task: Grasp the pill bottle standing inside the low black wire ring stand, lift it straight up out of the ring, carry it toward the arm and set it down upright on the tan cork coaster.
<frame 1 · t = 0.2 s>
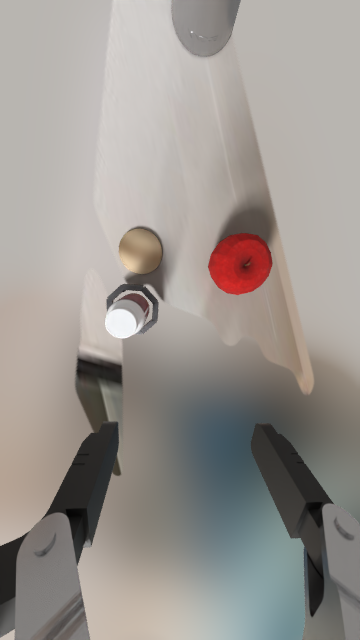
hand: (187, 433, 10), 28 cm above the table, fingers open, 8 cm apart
pill bottle: (135, 307, 36), on the table
apple: (225, 266, 35), on the table
cork coaster: (141, 252, 33), on the table
ring stand: (134, 307, 36), on the table
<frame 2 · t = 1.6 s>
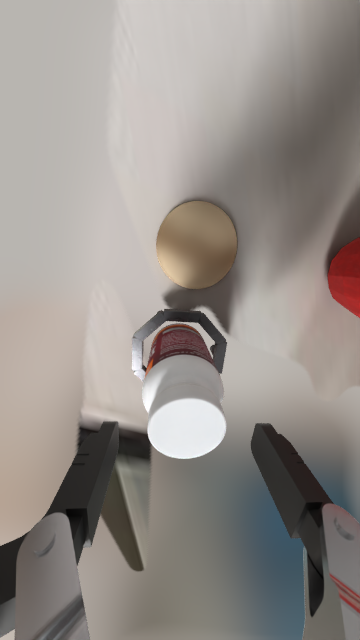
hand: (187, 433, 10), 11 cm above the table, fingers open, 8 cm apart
pill bottle: (178, 345, 21), on the table
apple: (344, 272, 19), on the table
cork coaster: (196, 248, 17), on the table
ring stand: (178, 346, 20), on the table
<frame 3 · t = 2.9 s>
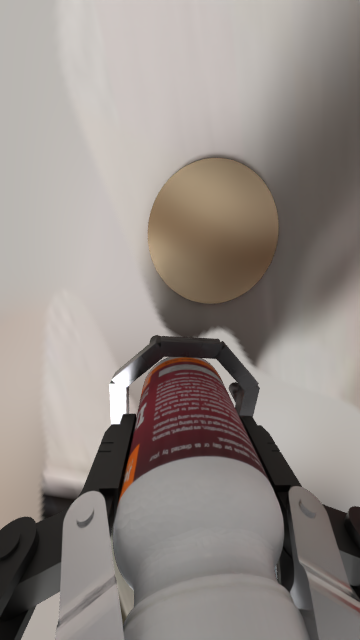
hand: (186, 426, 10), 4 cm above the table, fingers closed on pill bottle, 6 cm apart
pill bottle: (182, 384, 14), on the table, touching gripper
cork coaster: (211, 240, 11), on the table
ring stand: (182, 386, 14), on the table
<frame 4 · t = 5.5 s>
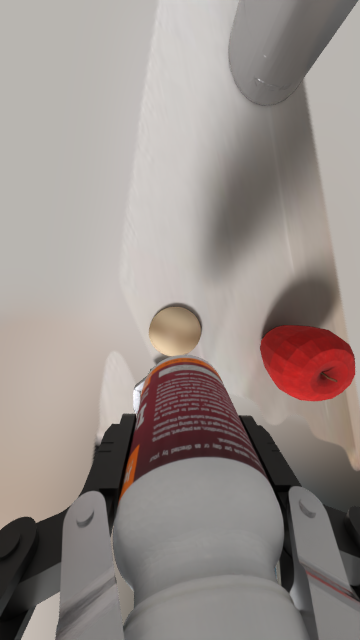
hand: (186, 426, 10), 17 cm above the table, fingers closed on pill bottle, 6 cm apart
pill bottle: (182, 384, 14), point 13 cm above the table, touching gripper
apple: (275, 342, 29), on the table
cork coaster: (175, 331, 27), on the table
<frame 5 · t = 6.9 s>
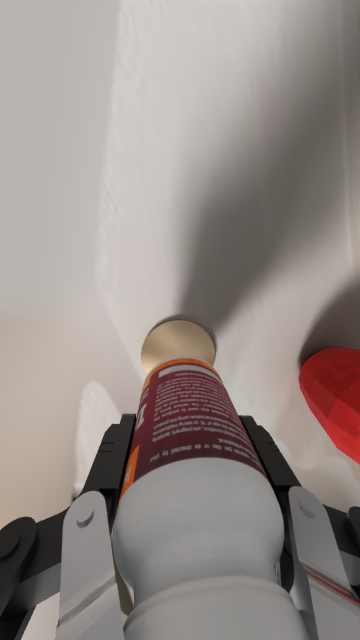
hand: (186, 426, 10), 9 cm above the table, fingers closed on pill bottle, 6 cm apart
pill bottle: (182, 385, 14), point 5 cm above the table, touching gripper
apple: (316, 366, 21), on the table
cork coaster: (178, 354, 19), on the table
when the fingers open (5 cm above the table, at t = 8.2 s): pill bottle drops 1 cm, resting on cork coaster.
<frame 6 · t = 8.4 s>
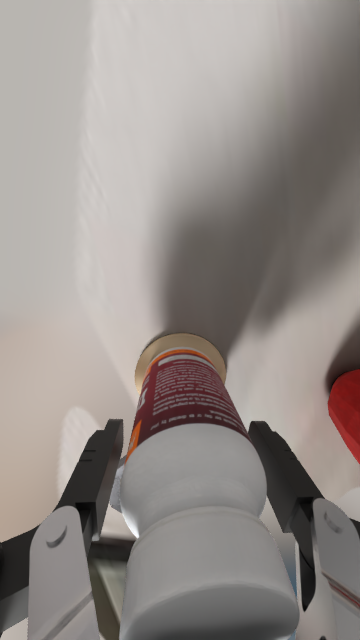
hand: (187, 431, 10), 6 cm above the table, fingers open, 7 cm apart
pill bottle: (180, 375, 15), resting on cork coaster
apple: (345, 386, 17), on the table
cork coaster: (180, 374, 16), on the table
ring stand: (163, 462, 18), on the table
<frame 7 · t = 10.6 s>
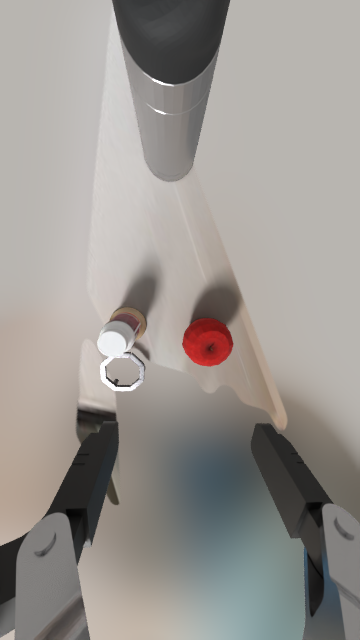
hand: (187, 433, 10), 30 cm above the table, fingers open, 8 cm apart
pill bottle: (127, 324, 39), resting on cork coaster
apple: (201, 330, 41), on the table
cork coaster: (128, 324, 39), on the table
ring stand: (125, 367, 42), on the table
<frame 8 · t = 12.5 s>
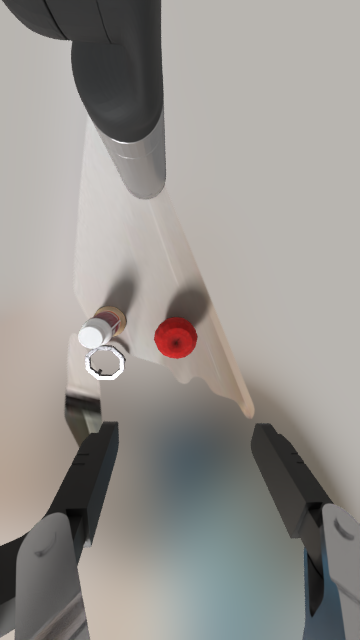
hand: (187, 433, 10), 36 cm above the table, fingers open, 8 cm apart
pill bottle: (109, 321, 44), resting on cork coaster
apple: (174, 328, 46), on the table
cork coaster: (110, 321, 45), on the table
ring stand: (107, 359, 47), on the table
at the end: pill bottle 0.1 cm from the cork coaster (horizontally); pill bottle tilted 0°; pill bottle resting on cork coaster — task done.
